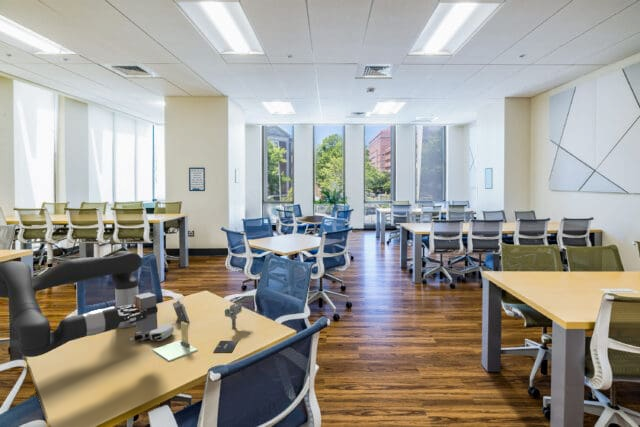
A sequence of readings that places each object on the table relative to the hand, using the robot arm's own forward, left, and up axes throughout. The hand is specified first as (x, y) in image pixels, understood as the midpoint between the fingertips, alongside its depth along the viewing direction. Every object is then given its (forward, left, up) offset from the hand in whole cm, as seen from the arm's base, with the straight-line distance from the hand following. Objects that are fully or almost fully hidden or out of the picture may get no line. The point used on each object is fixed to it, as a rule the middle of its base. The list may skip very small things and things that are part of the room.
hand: (153, 307), depth 125 cm
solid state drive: (+12, +22, -19) cm, 31 cm away
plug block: (0, -3, -7) cm, 7 cm away
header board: (0, +7, -19) cm, 20 cm away
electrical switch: (-28, +24, -19) cm, 42 cm away
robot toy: (-18, +7, -19) cm, 27 cm away
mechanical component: (-1, +34, -19) cm, 39 cm away
